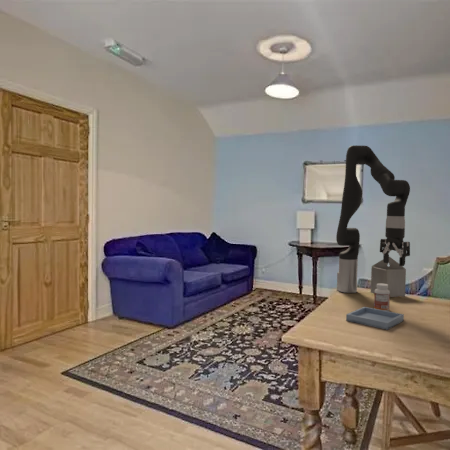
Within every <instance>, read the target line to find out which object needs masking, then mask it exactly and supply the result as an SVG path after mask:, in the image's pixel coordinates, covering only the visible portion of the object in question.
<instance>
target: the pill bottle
mask: <svg viewBox="0 0 450 450" xmlns="http://www.w3.org/2000/svg"><path fill="white" fill-rule="evenodd" d="M376 287H377V289H375V292H374V293H373V294H374V296H373V299H374V301H373V308H374V309H379V310H384V311H389V312H390V299H391V297H390V291H389V290H388V284H383V283H378V284H377V285H376Z"/></svg>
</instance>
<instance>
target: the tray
mask: <svg viewBox="0 0 450 450" xmlns="http://www.w3.org/2000/svg"><path fill="white" fill-rule="evenodd" d="M404 315H405V314H403V313H400V312H395V311H394V312H393V311H390V310H389V311H384V310H379V309H374V307H367V306H363V307H360V308H358V309H355V310H353V311H351V312H348V313H346V317H345V318H346V319H345V321H346V322H347V321H348V322H351V323H356V324H359V325H364V326H370V327H374V328H377V329H382V330H387V331H388V330H390V329H392V328H393V327H395V326H397V325H400V324H401V323H402V322H403V321H404V320H405V319H404Z"/></svg>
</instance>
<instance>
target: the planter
mask: <svg viewBox="0 0 450 450" xmlns="http://www.w3.org/2000/svg"><path fill="white" fill-rule="evenodd" d="M388 265H389V266H388ZM370 269H371V272H370V293H372V294H374V292H375V289H377V287H376V285H377V284H378V283H383V284H388V290H389V291H390V298H398V296H402V297H406V284H407V283H406V282H407V281H406V280H407V279H406V278H407V277H406V276H407V268H405V267H404V266H399V262H397V261H396V260H394V258H392V257H391V256H389V262H388V263H384V261H383V259H381V260H379V261H378V262H376V263H375V264H373V265H371V268H370Z"/></svg>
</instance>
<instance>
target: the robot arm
mask: <svg viewBox="0 0 450 450" xmlns="http://www.w3.org/2000/svg"><path fill="white" fill-rule="evenodd" d="M358 165H362V166H363V165H365V166H368V167H369V168H370V176H372V178H373V180H375V182H377V183H378V184H379V186H380V188H381V189H382V193H384V194H385V195H386V196H388V197H395V200H394V201H391V202H388V203H387V205H386V219H385V238H380V241H379V243H380V244H379V252H380V253H382V255H383V258H382V260H383V261H384V263H388V262H389V257H390V252H392V251H394V252H396V253H397V254H398V256H399V260H398V263H399V266H403V267H404V266H405V265H406V258H407V257H410V256H411V243H410V241H404V238H405V234H406V219H405V218H406V217H405V213H406V204H407V202H408V199H409V196H410V192H411V186H410V183H409V182H408V181H407V180H404V179H396V178H395V175H394V173H393V172H392V171H391V170H390V169H388V167H386V166H385V165H384V164H383V163H382V161H380V159H379V158H378V156H377V154H375V152H374V150H372V148H371V147H369V145H363V144H362V145H350V146H349V147H348V148H347V151H346V155H345V172H344V173H345V174H344V184H343V191H342V198H341V209H340V215H339V221H338V224H337V225H338V226H337V230H336V238H335V240H336V243H337V244H338V246H341V247H342V246H343V247H344V246H347V247H348V248H347V249H346V250H343V251H341V252H339V254H338V255H339V256H338V271H337V275H336V277H337V278H336V290H337V291H338V292H341V293H345V294H347V293H348V294H354V293H358V266H359V265H358V263H359V262H358V260H359V259H358V258H359V252H360V239H361V238H360V237H361V236H360V231H359V229H358V228H356V227H348V225H349V221H350V220H351V218H352V217H353V216H354V215H355V213H356V212H357V211H358V210H359V208H360V206H361V204H362V199H363V189H362V186H361V184H360V181H359V180H358V178H357V177H358V176H357V166H358ZM388 264H389V263H388Z"/></svg>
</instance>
